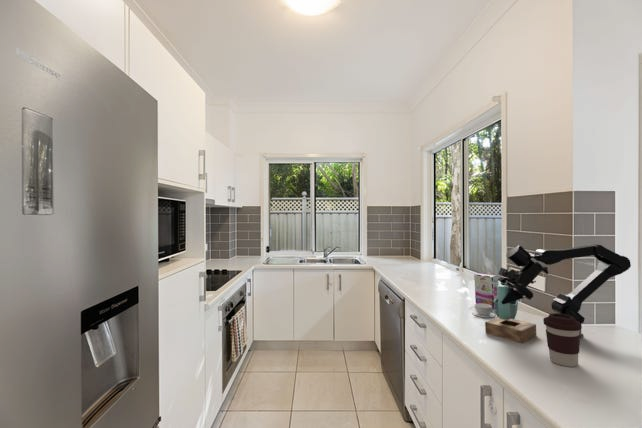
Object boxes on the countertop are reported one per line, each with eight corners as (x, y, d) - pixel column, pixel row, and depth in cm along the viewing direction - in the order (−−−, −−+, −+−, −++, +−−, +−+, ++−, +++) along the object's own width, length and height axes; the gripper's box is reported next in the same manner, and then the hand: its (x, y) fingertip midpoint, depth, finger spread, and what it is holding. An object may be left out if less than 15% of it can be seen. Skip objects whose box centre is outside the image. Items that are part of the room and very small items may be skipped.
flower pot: (517, 324, 138) (516, 304, 138) (494, 321, 143) (493, 301, 143) (519, 319, 145) (518, 299, 145) (497, 316, 150) (496, 297, 150)
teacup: (496, 319, 147) (495, 309, 147) (472, 317, 151) (472, 307, 151) (494, 312, 156) (494, 303, 156) (472, 311, 160) (471, 301, 160)
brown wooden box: (536, 335, 125) (535, 324, 125) (522, 343, 118) (521, 331, 118) (500, 326, 136) (499, 316, 137) (485, 332, 130) (485, 321, 130)
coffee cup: (546, 353, 109) (544, 310, 110) (583, 360, 103) (581, 314, 103) (544, 363, 102) (541, 317, 102) (583, 372, 95) (581, 323, 96)
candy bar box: (500, 307, 164) (498, 275, 164) (493, 308, 162) (492, 276, 162) (481, 302, 174) (480, 272, 174) (475, 303, 172) (473, 273, 172)
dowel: (512, 318, 127) (510, 286, 127) (507, 320, 125) (505, 287, 125) (502, 315, 130) (499, 284, 131) (497, 318, 128) (494, 286, 128)
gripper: (501, 257, 137) (476, 283, 138) (522, 264, 118) (492, 294, 120) (522, 275, 135) (497, 301, 137) (546, 284, 117) (516, 314, 118)
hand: (500, 302), depth 128 cm, fingers closed on dowel, 4 cm apart
